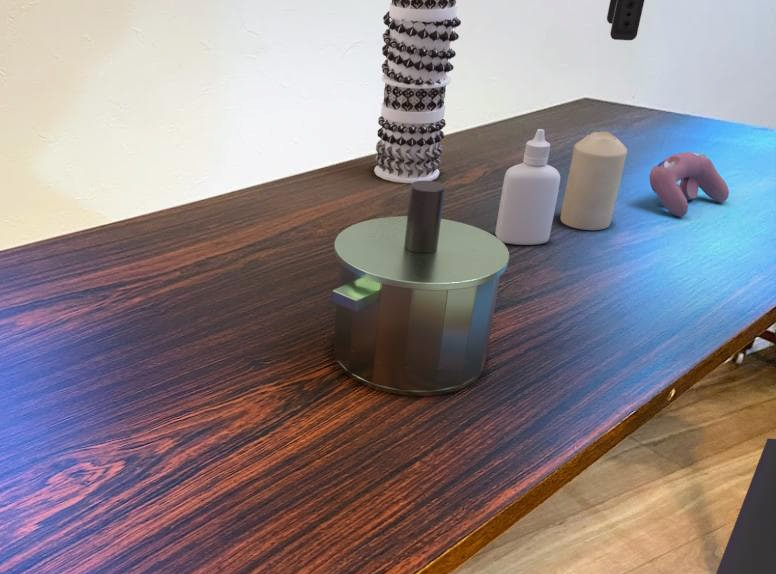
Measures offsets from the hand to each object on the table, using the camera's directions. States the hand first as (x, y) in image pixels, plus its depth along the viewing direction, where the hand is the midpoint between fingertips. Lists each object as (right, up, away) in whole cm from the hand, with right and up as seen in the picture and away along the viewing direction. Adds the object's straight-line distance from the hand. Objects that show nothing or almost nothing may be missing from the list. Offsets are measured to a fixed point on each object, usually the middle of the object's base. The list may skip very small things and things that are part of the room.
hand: (620, 31), depth 85 cm
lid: (-21, -23, -13) cm, 34 cm away
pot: (-21, -31, -7) cm, 38 cm away
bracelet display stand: (-14, -5, +34) cm, 37 cm away
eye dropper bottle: (-5, -17, +15) cm, 23 cm away
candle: (+4, -14, +19) cm, 24 cm away
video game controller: (+18, -11, +24) cm, 32 cm away
